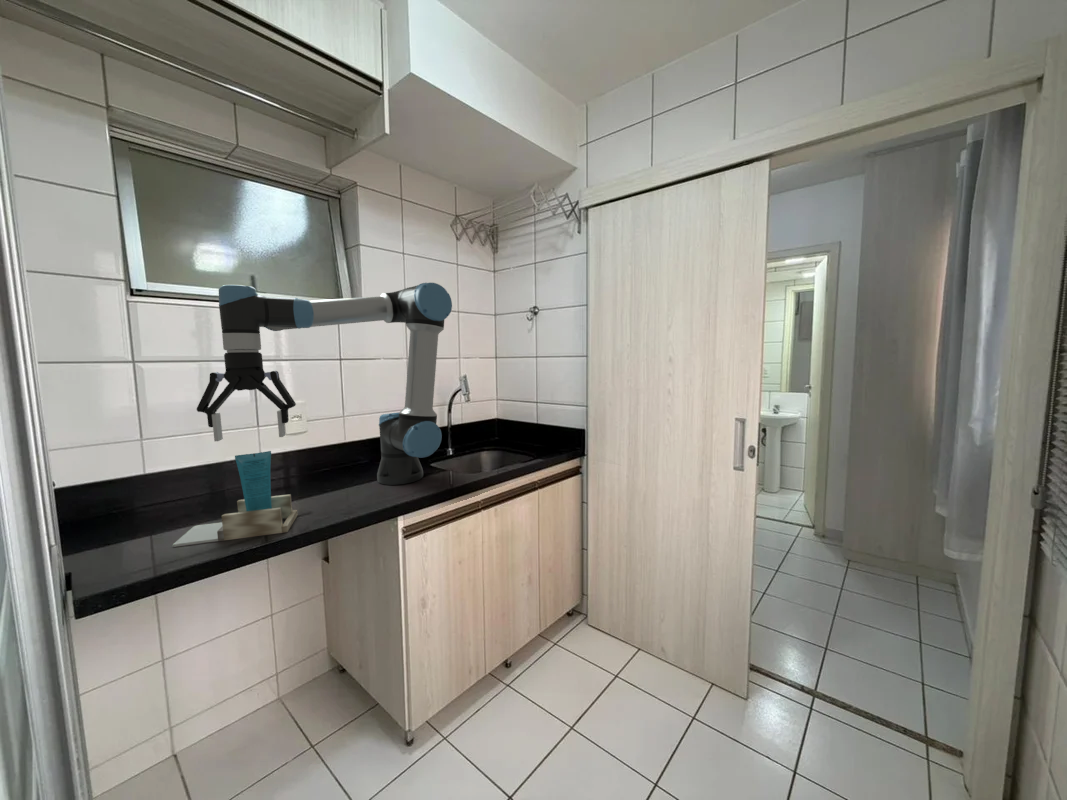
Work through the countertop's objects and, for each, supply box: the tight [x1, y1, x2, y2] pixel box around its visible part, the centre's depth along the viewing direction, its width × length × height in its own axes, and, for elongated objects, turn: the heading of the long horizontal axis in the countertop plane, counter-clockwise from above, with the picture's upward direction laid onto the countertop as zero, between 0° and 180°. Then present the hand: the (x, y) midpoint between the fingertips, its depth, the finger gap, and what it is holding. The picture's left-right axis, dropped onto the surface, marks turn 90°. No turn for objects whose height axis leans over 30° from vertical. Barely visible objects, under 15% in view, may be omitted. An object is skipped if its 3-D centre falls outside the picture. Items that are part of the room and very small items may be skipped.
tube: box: [234, 450, 272, 511], centre depth 104 cm, size 7×5×19 cm, turn 133°
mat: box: [172, 521, 223, 548], centre depth 102 cm, size 9×11×1 cm
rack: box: [217, 493, 299, 542], centre depth 105 cm, size 14×11×6 cm
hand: (251, 438), depth 103 cm, fingers open, 13 cm apart
